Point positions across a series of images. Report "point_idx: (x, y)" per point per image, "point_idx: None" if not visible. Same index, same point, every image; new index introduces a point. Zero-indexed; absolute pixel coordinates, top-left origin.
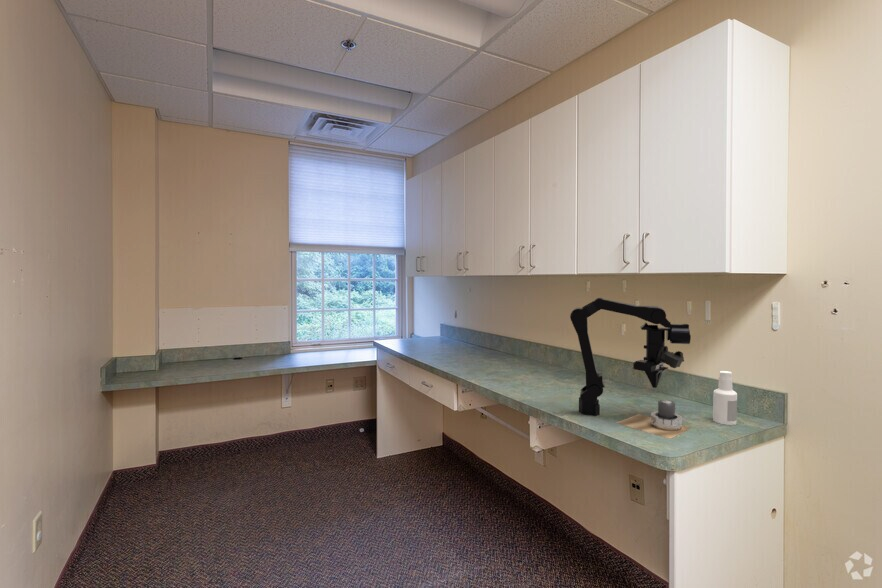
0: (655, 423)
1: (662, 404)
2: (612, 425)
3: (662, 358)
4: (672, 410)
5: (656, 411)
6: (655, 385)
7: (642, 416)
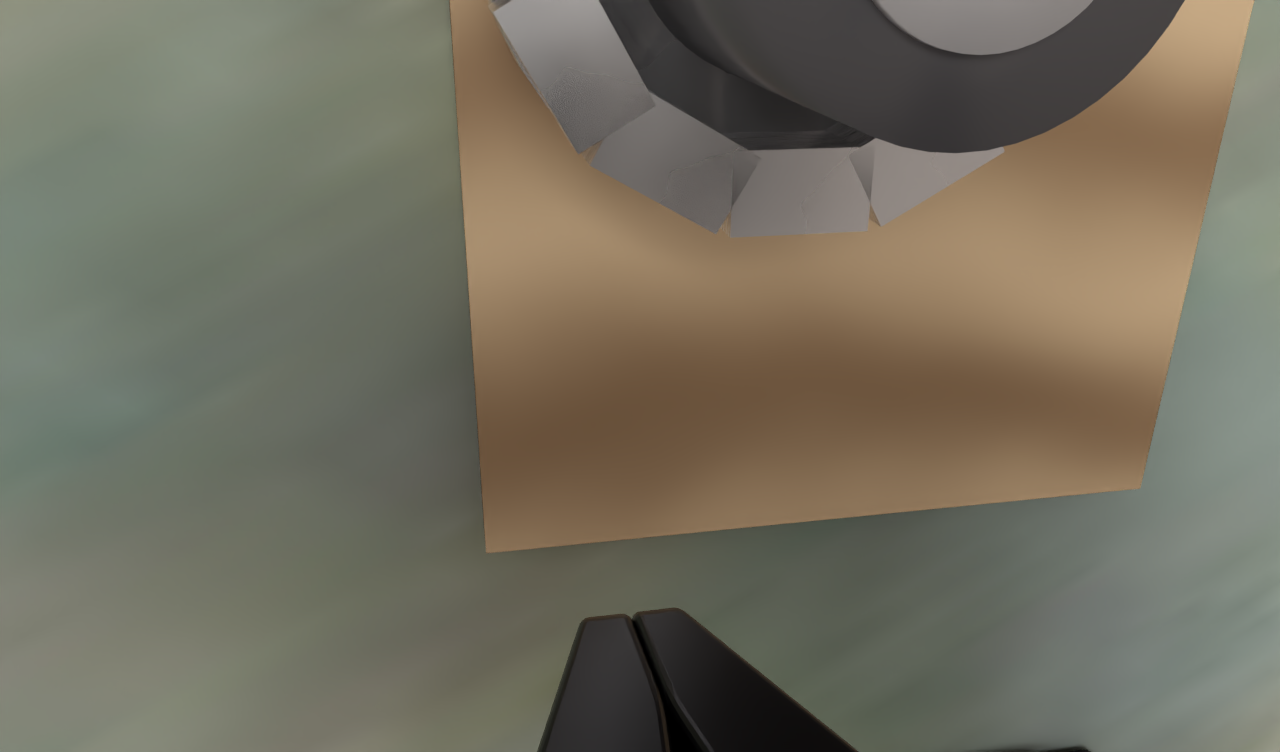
0: None
1: None
2: (1125, 497)
3: None
4: None
5: (690, 211)
6: (745, 663)
7: (575, 448)
